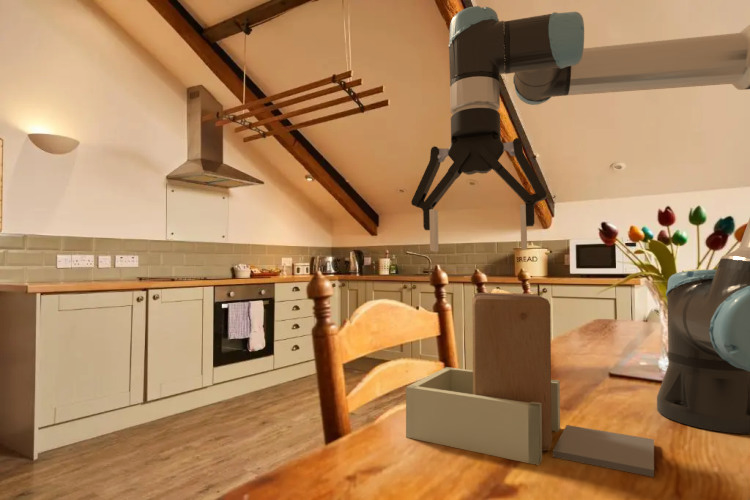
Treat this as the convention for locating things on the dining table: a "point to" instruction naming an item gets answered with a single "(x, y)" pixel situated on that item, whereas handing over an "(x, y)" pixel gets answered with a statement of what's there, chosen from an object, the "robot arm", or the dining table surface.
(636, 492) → the dining table surface
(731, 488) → the dining table surface
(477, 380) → the wooden block
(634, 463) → the trivet
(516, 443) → the crate
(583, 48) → the robot arm
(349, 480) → the dining table surface
